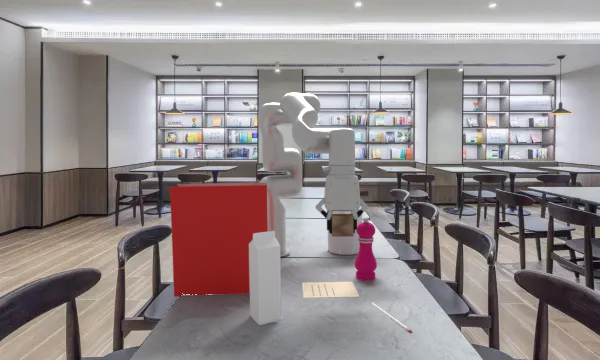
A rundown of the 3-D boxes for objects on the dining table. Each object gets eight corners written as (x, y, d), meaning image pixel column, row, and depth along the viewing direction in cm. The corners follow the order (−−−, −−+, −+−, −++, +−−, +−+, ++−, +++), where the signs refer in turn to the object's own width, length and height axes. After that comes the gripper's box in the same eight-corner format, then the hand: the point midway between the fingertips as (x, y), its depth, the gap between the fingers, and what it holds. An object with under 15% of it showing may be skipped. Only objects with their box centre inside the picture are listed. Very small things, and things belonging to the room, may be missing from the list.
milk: (281, 320, 93) (280, 233, 91) (258, 326, 90) (257, 236, 88) (271, 311, 99) (270, 228, 97) (249, 316, 96) (248, 231, 94)
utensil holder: (327, 245, 164) (327, 205, 163) (362, 246, 162) (362, 206, 161) (325, 255, 150) (325, 211, 148) (363, 256, 148) (363, 212, 146)
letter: (303, 298, 107) (303, 297, 107) (301, 283, 119) (301, 282, 119) (359, 297, 107) (359, 296, 107) (352, 282, 119) (352, 281, 119)
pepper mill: (352, 274, 127) (352, 215, 125) (373, 273, 127) (373, 215, 125) (357, 282, 119) (357, 219, 118) (379, 281, 120) (380, 219, 118)
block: (332, 236, 108) (332, 215, 107) (330, 232, 113) (330, 212, 113) (353, 236, 108) (353, 215, 107) (350, 231, 114) (350, 212, 113)
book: (174, 296, 109) (169, 186, 106) (180, 286, 117) (176, 184, 114) (268, 292, 111) (266, 185, 109) (268, 282, 119) (266, 182, 116)
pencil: (409, 334, 87) (409, 331, 86) (367, 303, 104) (367, 300, 104) (412, 333, 87) (412, 330, 87) (370, 302, 104) (370, 300, 104)
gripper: (312, 172, 105) (313, 235, 107) (374, 171, 105) (373, 235, 107) (311, 170, 113) (312, 230, 114) (369, 170, 113) (368, 229, 114)
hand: (341, 231), depth 110 cm, fingers closed on block, 6 cm apart
